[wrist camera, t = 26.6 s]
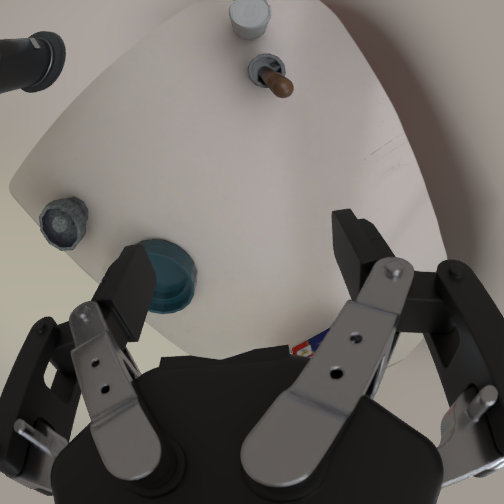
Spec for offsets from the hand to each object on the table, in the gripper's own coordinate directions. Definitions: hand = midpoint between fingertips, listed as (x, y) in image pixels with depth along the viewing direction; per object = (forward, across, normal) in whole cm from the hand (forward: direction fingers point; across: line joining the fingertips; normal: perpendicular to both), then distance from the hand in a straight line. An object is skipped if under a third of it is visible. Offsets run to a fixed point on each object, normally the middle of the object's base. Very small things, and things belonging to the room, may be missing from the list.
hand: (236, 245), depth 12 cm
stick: (+37, -4, -7) cm, 38 cm away
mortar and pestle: (+37, +35, +9) cm, 52 cm away
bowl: (+37, +22, +26) cm, 51 cm away
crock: (+37, -4, -7) cm, 38 cm away
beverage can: (+37, -4, -14) cm, 40 cm away
